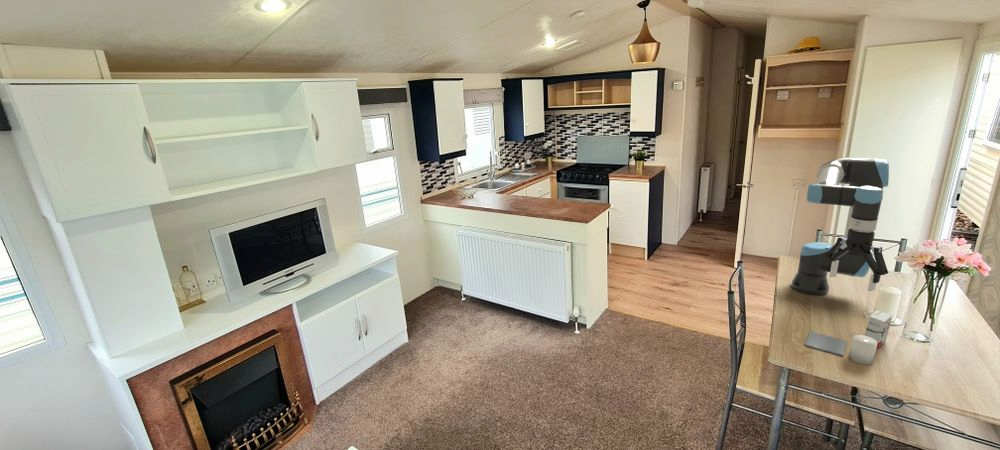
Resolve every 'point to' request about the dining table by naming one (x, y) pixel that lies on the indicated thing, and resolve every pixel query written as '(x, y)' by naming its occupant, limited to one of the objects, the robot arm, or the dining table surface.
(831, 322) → the dining table surface
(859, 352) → the white rounded cylinder
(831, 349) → the slate tile
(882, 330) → the ink box
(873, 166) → the robot arm
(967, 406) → the dining table surface
